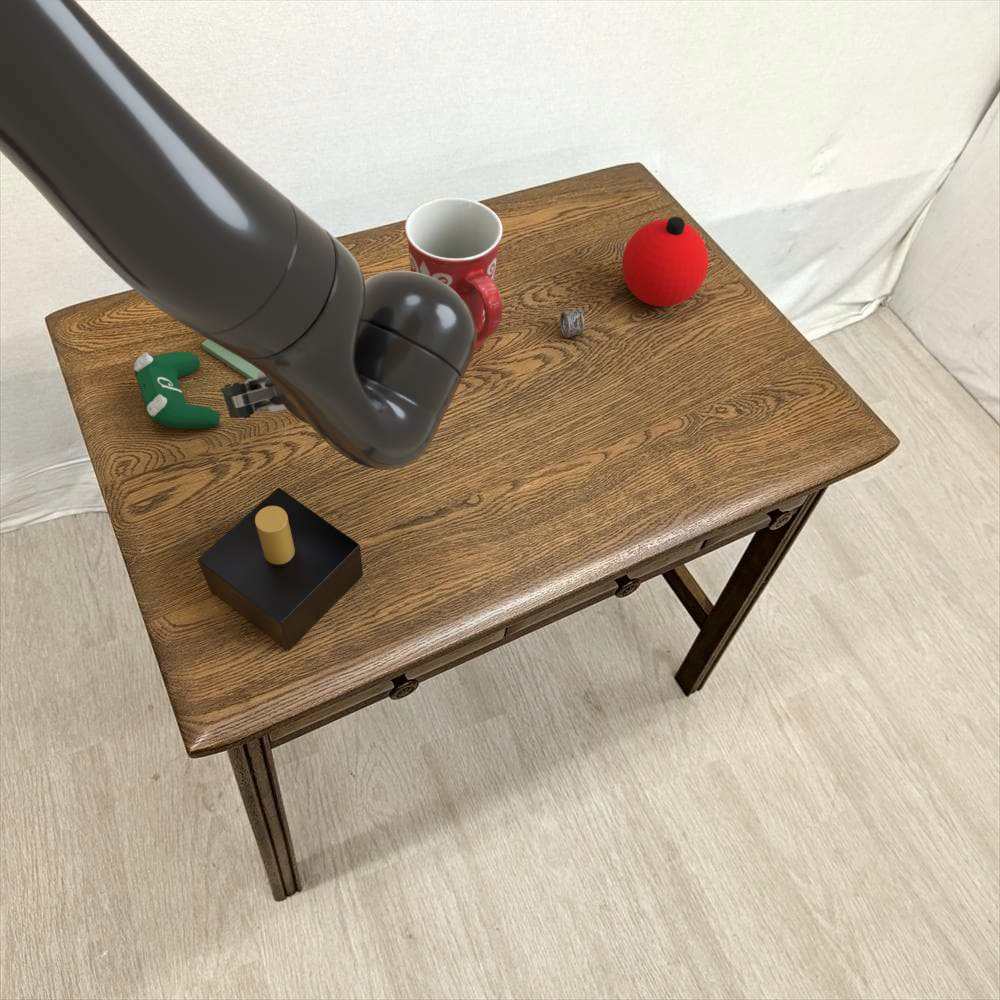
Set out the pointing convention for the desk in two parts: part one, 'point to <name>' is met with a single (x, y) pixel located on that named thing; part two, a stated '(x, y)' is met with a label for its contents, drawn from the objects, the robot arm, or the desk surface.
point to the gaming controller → (171, 391)
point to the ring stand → (282, 567)
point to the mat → (231, 360)
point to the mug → (459, 254)
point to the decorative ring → (571, 323)
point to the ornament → (665, 262)
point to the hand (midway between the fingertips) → (301, 379)
